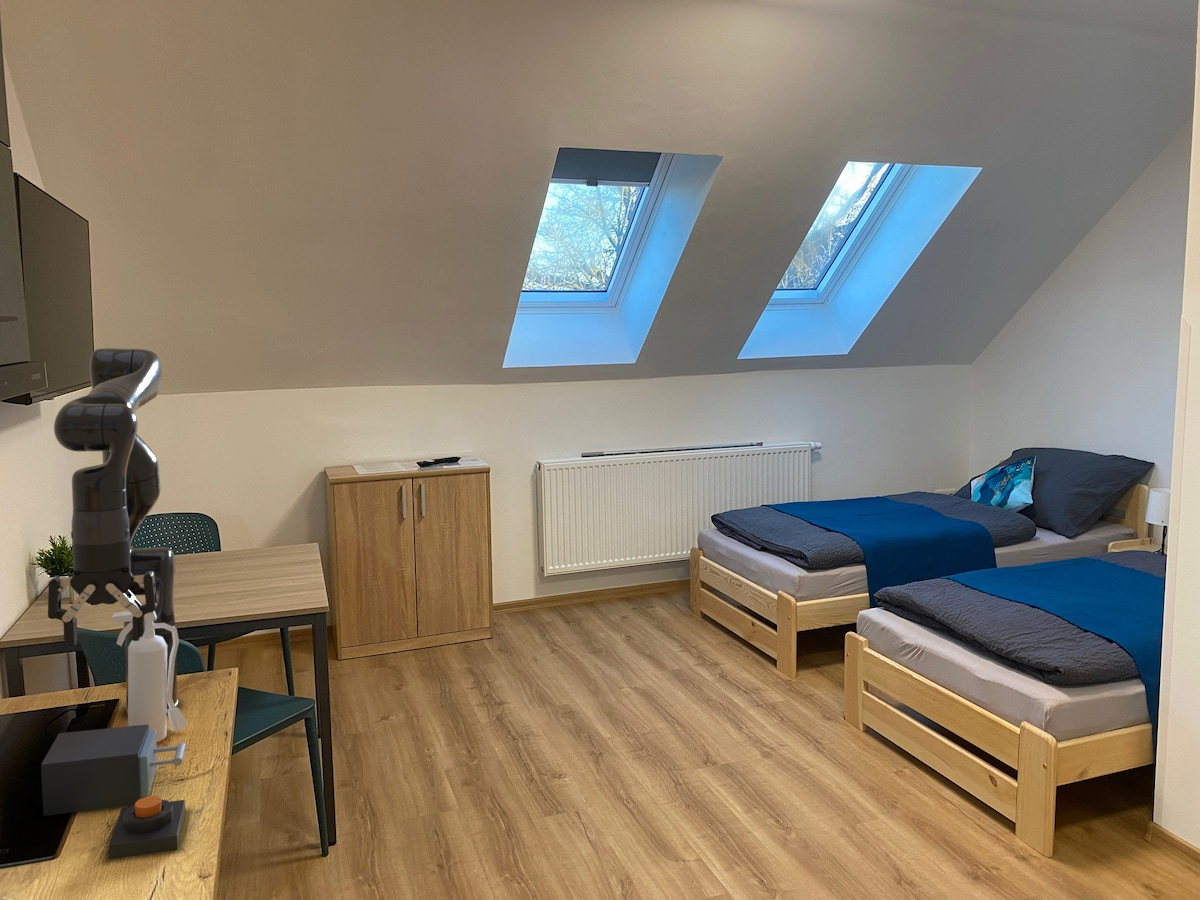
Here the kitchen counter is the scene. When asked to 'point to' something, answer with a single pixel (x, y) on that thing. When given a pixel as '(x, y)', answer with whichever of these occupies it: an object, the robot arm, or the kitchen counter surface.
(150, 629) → the fire extinguisher
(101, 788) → the drawer housing
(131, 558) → the robot arm
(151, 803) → the button
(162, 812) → the control block
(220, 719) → the kitchen counter surface
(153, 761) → the drawer
